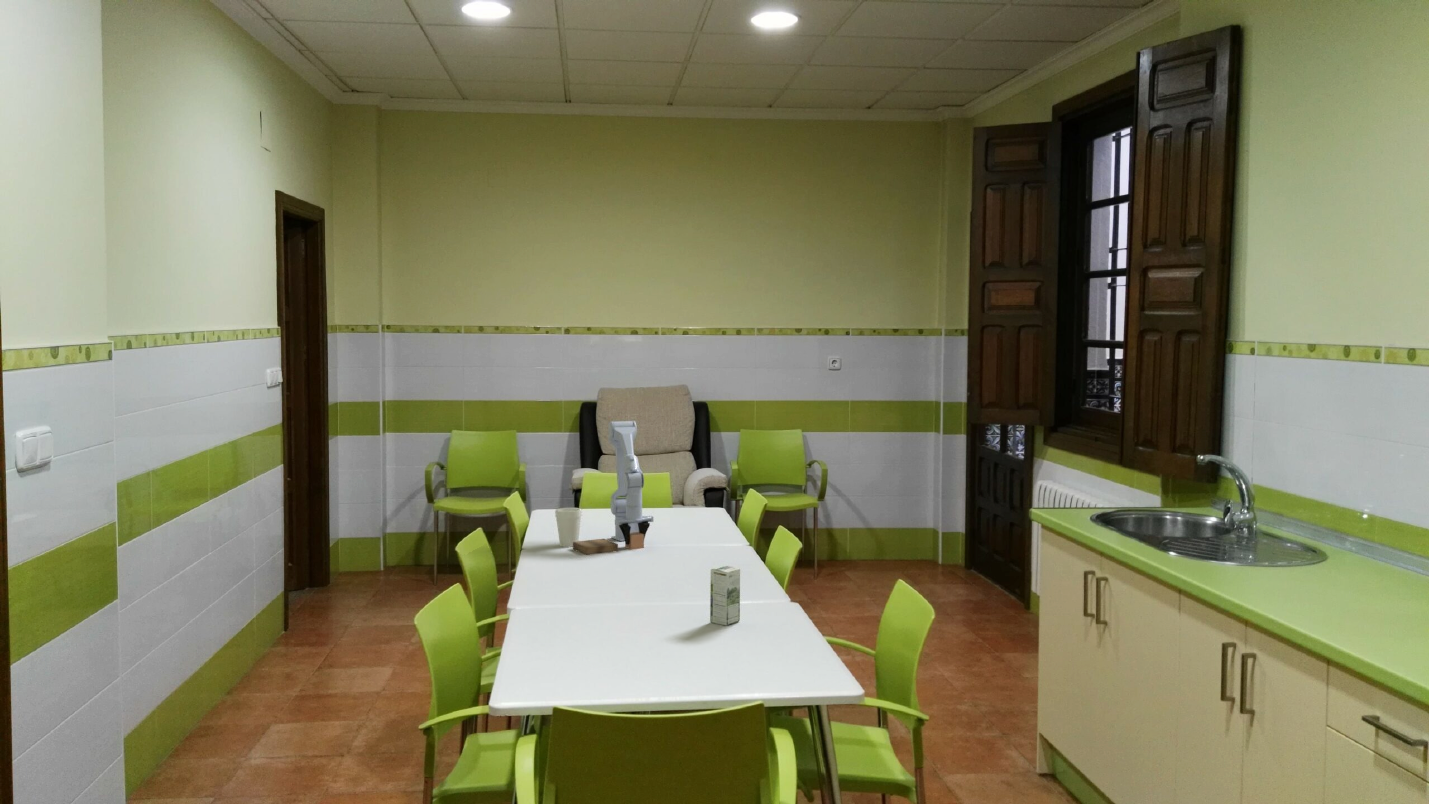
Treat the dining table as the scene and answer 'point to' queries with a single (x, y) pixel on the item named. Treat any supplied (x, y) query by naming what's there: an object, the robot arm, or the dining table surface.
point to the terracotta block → (636, 541)
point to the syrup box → (725, 595)
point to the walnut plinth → (595, 546)
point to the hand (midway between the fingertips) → (634, 543)
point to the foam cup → (568, 525)
